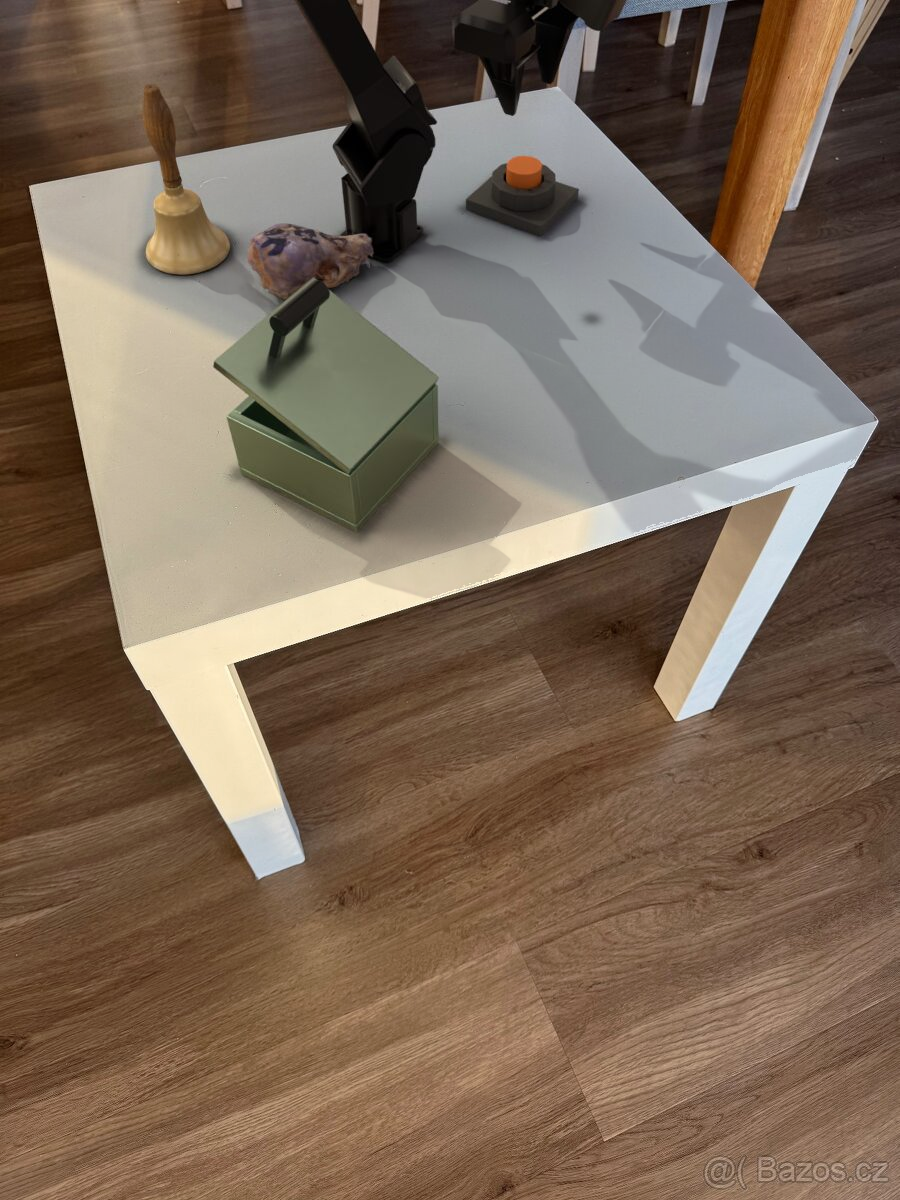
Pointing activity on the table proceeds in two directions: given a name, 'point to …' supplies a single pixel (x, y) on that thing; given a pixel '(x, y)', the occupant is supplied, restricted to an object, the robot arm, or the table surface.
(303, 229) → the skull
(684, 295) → the table surface
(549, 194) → the control block
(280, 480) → the green box
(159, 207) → the hand bell
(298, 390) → the box lid
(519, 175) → the button
